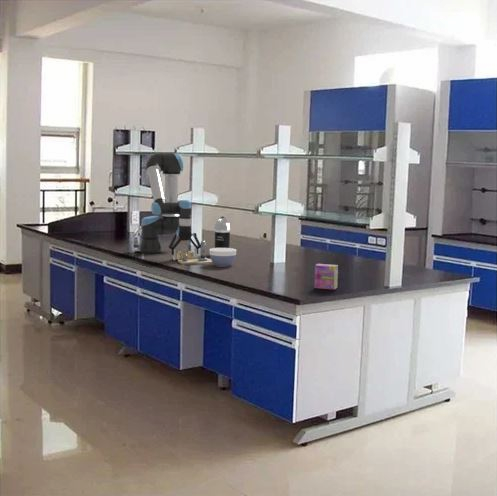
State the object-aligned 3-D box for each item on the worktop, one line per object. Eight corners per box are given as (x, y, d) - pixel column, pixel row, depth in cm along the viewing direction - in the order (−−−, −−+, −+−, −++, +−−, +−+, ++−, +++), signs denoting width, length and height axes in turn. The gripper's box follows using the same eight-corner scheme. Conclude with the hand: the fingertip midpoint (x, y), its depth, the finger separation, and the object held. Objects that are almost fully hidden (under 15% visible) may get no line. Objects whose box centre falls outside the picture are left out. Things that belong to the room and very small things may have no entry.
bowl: (231, 268, 410) (231, 252, 408) (205, 266, 414) (205, 250, 413) (239, 264, 425) (239, 248, 424) (214, 262, 429) (214, 247, 428)
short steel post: (182, 260, 427) (182, 254, 426) (187, 260, 428) (187, 254, 427) (183, 261, 424) (183, 254, 423) (188, 261, 425) (188, 254, 424)
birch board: (177, 261, 431) (177, 259, 430) (209, 260, 437) (209, 258, 437) (183, 264, 419) (183, 262, 419) (215, 263, 426) (215, 261, 426)
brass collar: (176, 259, 441) (176, 251, 440) (189, 258, 444) (189, 250, 443) (180, 261, 433) (180, 253, 432) (193, 260, 436) (193, 252, 435)
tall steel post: (197, 259, 431) (197, 240, 430) (205, 259, 433) (206, 240, 431) (200, 261, 426) (200, 241, 425) (208, 260, 428) (208, 241, 426)
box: (314, 288, 357) (314, 264, 355) (317, 286, 362) (318, 263, 360) (334, 290, 352) (334, 266, 351) (337, 288, 358) (338, 264, 356)
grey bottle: (227, 256, 456) (228, 217, 453) (212, 255, 458) (212, 216, 455) (231, 254, 466) (232, 216, 463) (216, 253, 468) (216, 215, 465)
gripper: (166, 226, 427) (166, 261, 430) (206, 225, 436) (206, 259, 439) (163, 225, 434) (163, 259, 437) (202, 224, 443) (202, 258, 446)
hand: (185, 259), depth 438 cm, fingers open, 13 cm apart
